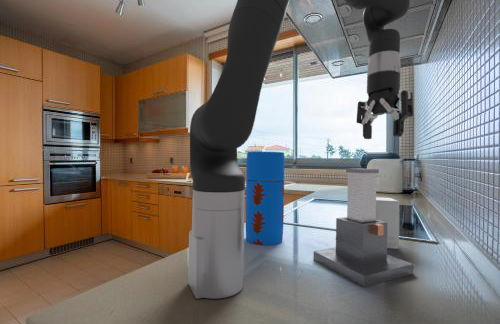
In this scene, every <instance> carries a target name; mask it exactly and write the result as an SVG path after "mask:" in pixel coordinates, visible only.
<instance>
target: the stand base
mask: <svg viewBox="0 0 500 324" xmlns="http://www.w3.org/2000/svg"><path fill="white" fill-rule="evenodd" d="M335 220H336V221H335V222H336V223H335V247H330V248H324V249H319V250H318V249H317V250H313V259H312V260H313V261H315V262H317V263H318V264H321V265H322V266H325V267H326V268H328V269H329V270H331V271H333V272H335V273H337V274H339V275H340V276H343V277H345V278H347V280H350V281H352V282H354V283H356V284H358V285H359V286H361V287H363V288H366V287H370V286H373V285H377V284H382V283H385V282H389V281H392V280H396V279H399V278H403V277H406V276H410V275H413V274H414V263H411V262H409V261H406V260H403V259H400V258H398V257H395V256H394V255H393V256H392V255H390V254H388V248H387V223H388V222H384V221H379V220H376V222H375V223H367V224H361V223H357V222H353V221H350V220H347V216H344V217H336V219H335Z"/></svg>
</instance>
